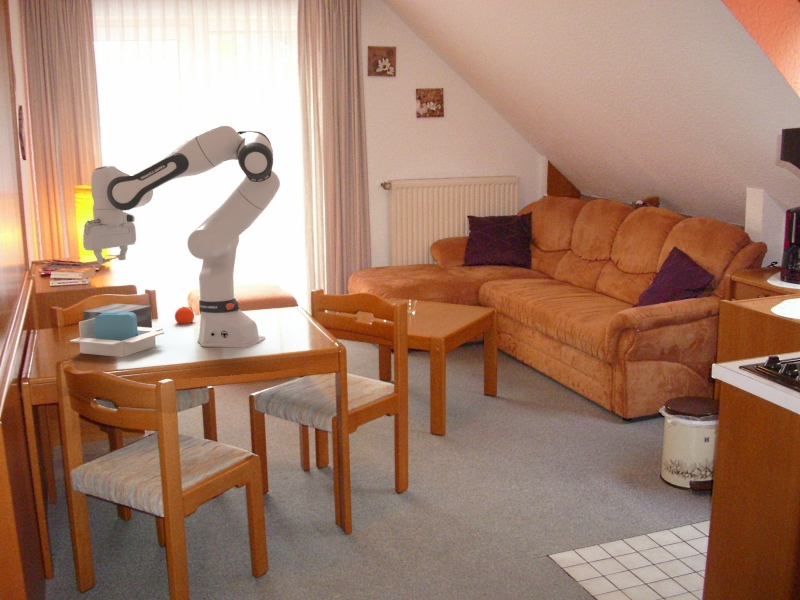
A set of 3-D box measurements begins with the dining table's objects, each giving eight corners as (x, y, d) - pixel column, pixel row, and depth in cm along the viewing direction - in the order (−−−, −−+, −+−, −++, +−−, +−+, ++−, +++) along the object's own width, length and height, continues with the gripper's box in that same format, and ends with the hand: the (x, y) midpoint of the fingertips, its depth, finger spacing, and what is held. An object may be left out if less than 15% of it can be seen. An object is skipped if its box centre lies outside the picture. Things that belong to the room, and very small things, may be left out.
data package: (139, 348, 258) (136, 311, 256) (134, 351, 254) (132, 314, 251) (102, 348, 258) (99, 312, 256) (97, 352, 253) (94, 315, 251)
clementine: (186, 322, 299) (185, 303, 297) (200, 323, 295) (199, 305, 294) (171, 326, 292) (170, 307, 290) (185, 328, 288) (184, 308, 287)
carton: (173, 344, 262) (171, 314, 261) (124, 361, 241) (122, 329, 239) (123, 339, 270) (120, 311, 268) (71, 356, 248) (68, 324, 246)
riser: (152, 330, 285) (150, 305, 283) (121, 339, 270) (119, 313, 269) (116, 327, 291) (114, 303, 289) (84, 336, 276) (82, 311, 274)
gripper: (92, 220, 238) (96, 266, 240) (138, 216, 257) (141, 258, 259) (76, 220, 240) (80, 265, 243) (122, 215, 259) (125, 257, 262)
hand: (111, 261), depth 251 cm, fingers open, 8 cm apart
